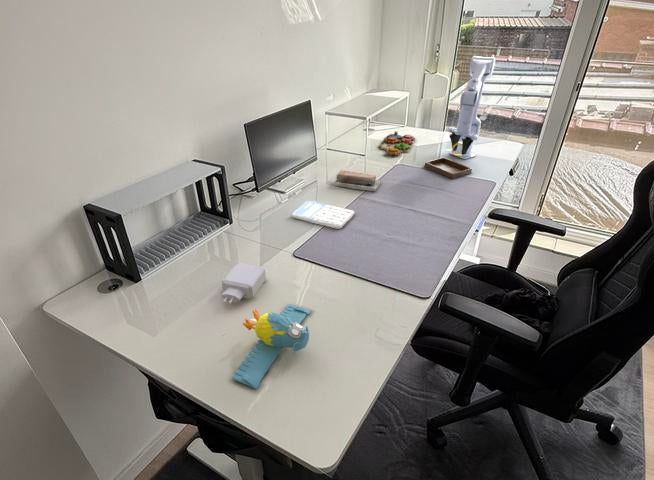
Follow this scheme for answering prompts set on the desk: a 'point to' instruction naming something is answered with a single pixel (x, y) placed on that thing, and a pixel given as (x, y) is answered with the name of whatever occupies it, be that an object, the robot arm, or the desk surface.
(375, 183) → the packaged product
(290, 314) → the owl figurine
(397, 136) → the gear puzzle
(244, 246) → the desk surface
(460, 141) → the watch
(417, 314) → the desk surface
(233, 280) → the charger
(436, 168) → the tray
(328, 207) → the calculator
